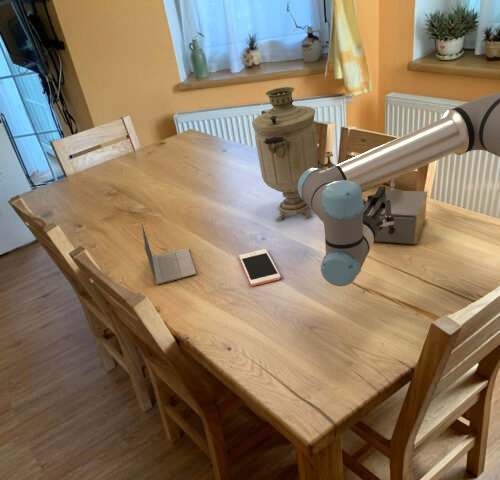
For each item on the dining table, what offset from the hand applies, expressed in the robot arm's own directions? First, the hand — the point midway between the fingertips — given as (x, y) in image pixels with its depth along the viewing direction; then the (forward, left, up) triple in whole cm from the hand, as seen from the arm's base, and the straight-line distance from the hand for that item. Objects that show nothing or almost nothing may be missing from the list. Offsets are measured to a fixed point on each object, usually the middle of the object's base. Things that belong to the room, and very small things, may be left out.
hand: (382, 191), depth 125 cm
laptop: (+37, +52, -23) cm, 68 cm away
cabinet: (+16, -16, -23) cm, 32 cm away
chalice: (+33, -25, -23) cm, 47 cm away
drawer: (+14, -14, -22) cm, 30 cm away
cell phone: (+20, +29, -23) cm, 42 cm away
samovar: (+46, +3, -23) cm, 51 cm away
